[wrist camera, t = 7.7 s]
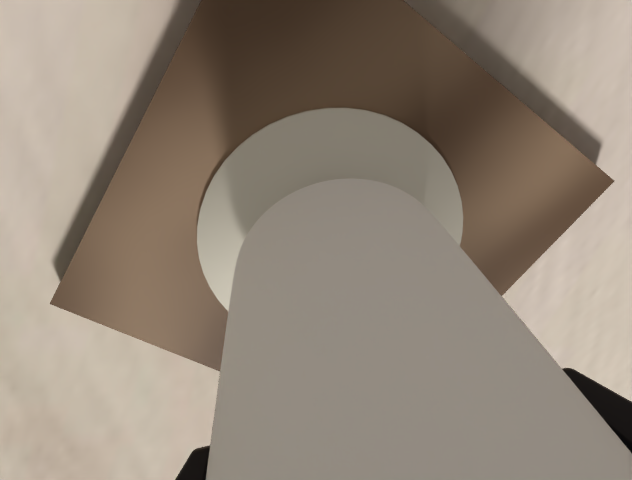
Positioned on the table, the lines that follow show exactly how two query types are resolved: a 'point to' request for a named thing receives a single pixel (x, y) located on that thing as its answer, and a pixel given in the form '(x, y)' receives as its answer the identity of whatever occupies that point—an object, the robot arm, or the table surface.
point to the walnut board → (311, 158)
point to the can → (387, 357)
